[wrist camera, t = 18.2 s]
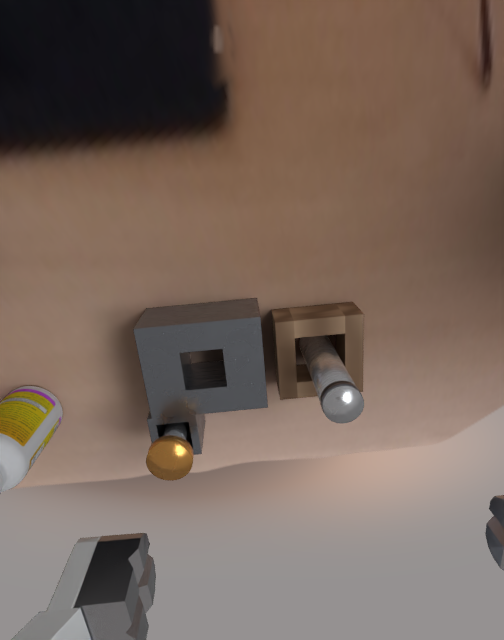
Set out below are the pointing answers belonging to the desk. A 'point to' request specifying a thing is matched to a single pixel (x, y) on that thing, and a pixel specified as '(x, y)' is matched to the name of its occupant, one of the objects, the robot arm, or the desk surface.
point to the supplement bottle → (25, 431)
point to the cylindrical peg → (331, 380)
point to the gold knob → (171, 453)
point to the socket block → (200, 378)
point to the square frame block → (316, 322)
